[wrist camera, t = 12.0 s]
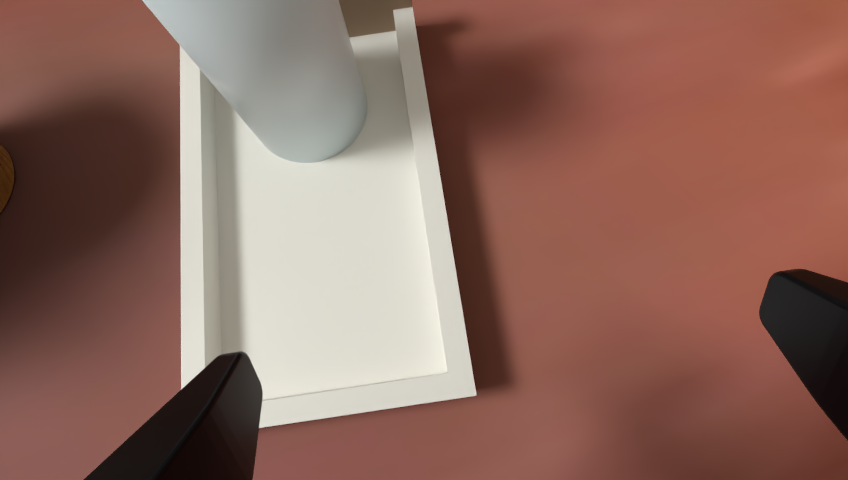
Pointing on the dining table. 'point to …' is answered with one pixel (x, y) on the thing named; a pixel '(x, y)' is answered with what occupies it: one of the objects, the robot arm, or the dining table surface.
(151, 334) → the dining table surface
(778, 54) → the dining table surface
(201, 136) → the drawer
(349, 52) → the white rounded wedge
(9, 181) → the disposable coffee cup
